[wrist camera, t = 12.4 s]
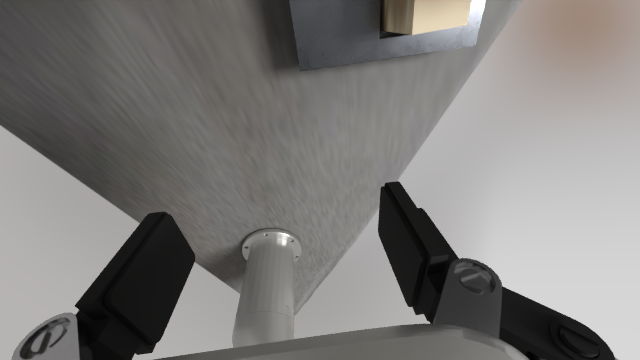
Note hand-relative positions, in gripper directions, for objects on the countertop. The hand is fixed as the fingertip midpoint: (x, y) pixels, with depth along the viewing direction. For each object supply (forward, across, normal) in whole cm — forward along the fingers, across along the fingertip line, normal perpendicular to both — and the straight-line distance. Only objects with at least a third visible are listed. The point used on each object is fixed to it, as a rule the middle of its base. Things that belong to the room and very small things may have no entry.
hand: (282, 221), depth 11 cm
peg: (+26, -13, -9) cm, 30 cm away
